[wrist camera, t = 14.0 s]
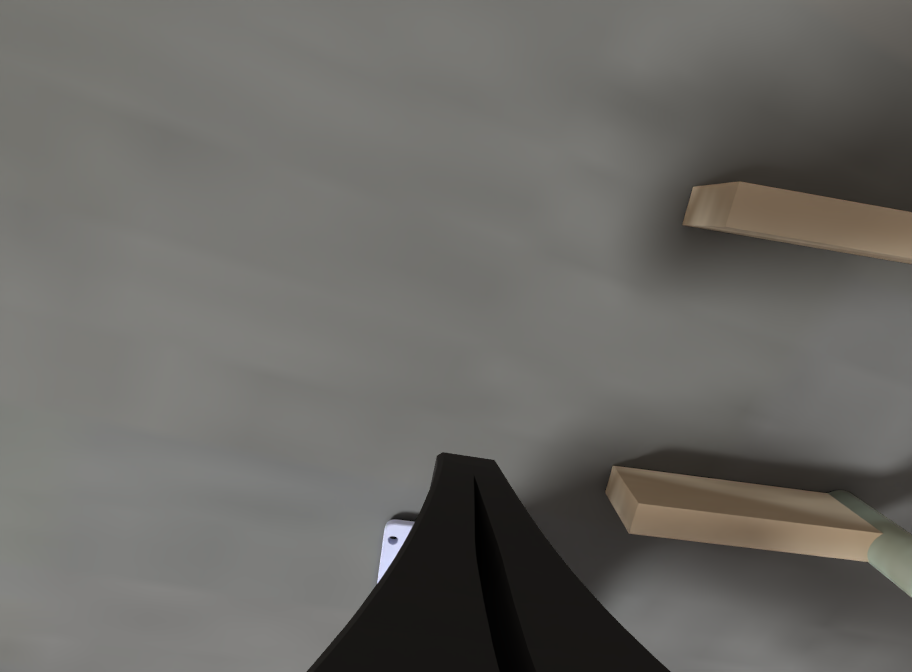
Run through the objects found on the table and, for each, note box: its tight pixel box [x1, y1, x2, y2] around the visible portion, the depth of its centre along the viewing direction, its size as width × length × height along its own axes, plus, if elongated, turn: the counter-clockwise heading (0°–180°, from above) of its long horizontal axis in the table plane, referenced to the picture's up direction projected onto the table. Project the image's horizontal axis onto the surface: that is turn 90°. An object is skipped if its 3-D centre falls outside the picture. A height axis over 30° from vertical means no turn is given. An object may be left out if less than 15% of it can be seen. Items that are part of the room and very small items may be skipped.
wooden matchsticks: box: [605, 181, 912, 597], centre depth 18 cm, size 16×14×5 cm
